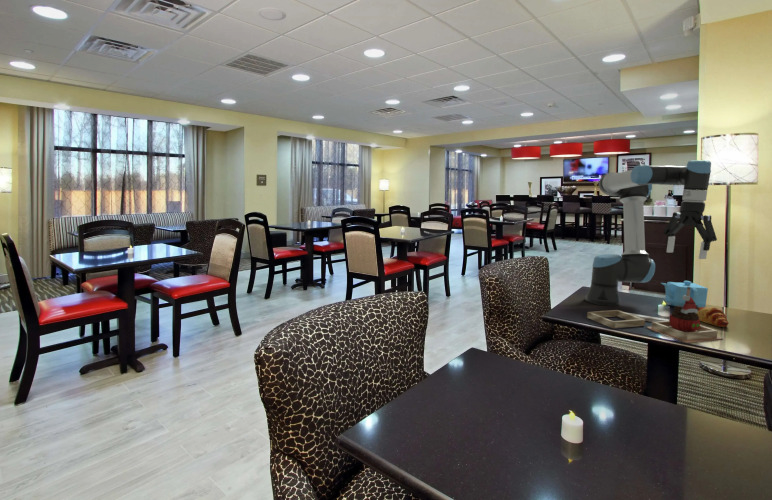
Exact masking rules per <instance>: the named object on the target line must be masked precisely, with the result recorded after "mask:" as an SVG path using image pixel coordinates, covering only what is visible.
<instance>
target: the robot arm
mask: <svg viewBox="0 0 772 500" xmlns="http://www.w3.org/2000/svg"><path fill="white" fill-rule="evenodd" d="M711 168H712V162H711V161H710V160H702V159H700V160H699V159H697V160H694V159H693V160H688V161H687V163H686V166H685V165H683V166H682V165H679V166H678V165H677V166H676V165H647V164H643V165H641V164H640V165H638V164H637V165H635V166H634V167H633V168H632V169H629V170H625V171H621V172H607V173H605V174H603V175H602V176H601V177H600V178H599V181H598V187H599V191H601V192H602V193H603V194H605V195H607V196H610V197H619V202H620V203H622V204H623V206H622V207H623V235H624V236H623V237H624V239H623V240H624V251H623V253H622V254H615V253H606V254H598V255H596V256H595V257H594V258H593V263H592V270H591V271H592V272H591V282H590V287H588V288H589V289H588V292H587V293H586V295H585V301H586V302H587V303H590V304H593V305H598V306H607V307H617V306H620V305H621V297H620V292H619V290H618V289H619V288H618V287H619V283H620V282H621V283H636V284H639V283H648V282H650V281H651V280H652V278H653V277H654V275H655V272H656V263H655V261H654V259H652V258H650V254H649V253H648V252H647V251H646V239H645V238H646V237H645V236H646V235H645V216H644V215H645V212H644V211H645V210H644V203H645V202H646V201H647V200H648V197H649V196H650V195H651V193H652V190H653V185H662V186H663V185H664V186H683V191H682V198H681V199H682V202H681V204H680V211H677V212H673V213H672V216H671V219H670V220H669V221H668V224H666V226H665V228H664V230H663V231H662V234H663V235H666V245H667V247H666V253H668V254H669V253H674V251H675V250H674V249H675V241H676V236H675V235H676V234H677V233H678V232H679V231H680V230H682V228H683V227H684V226H691V227H694V228H695V229H696V231H697V232H698V234H699V235H700V237H701V239H702V241H700V249H699V255H698V259H699V260H706V259H707V256H708V255H707V254H708V251H709V250H710V247H711V243H713V242H716V241H718V238H717V235H716V232H715V229H714V227H713V223H712V215H710V214H709V215H707V214H705V215H704V214H703V213H704V212H705V210H706V209H705V208H706V202H705V201H706V200H707V196H708V188H709V183H710V178H711V177H710V176H711V172H712V170H711Z"/></svg>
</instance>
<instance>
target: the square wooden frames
mask: <svg viewBox="0 0 772 500" xmlns="http://www.w3.org/2000/svg"><path fill="white" fill-rule="evenodd" d="M586 314H587V315H586V318H587V319H589V320H592V321H594V322H597V323H599V324H602V325H603V326H607V327H609V328H611V329H621V328H633V327H642V326H643V327H644V326H645V325H646V322H650V323H651V326H646V327H645V329H648V330H650V331H652V332H656V333H659V334H661V335H664V336H666V337H669V338H672V339H675V340H677V341H680V342H682V343H685V344H689V343H690V344H691V343H700V342H709V341H711V342H712V341H719V340H724V338H723V337H721V336H718V332H719V330H716V329H713V328H711V327H707V326H704V325H701V324H700V328H699V329H698V330H697V331H698V332H688V333H684V332H682V331H679V330H676V329H673V328H670V327H669V326H670V324H671V323H670V322H669V319H670V318H669V319H668V318H662V317H656V316H649V315H643V314H638V313H631V312H625V311H622V310H620V309H619V310H618V309H614V310H613V309H611V310H599V311H598V310H597V311H587V313H586ZM610 317H611V318H613V317H619V318H620V319H623V320H615V321H614V320H612V319H608V318H610Z"/></svg>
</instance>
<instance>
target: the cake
mask: <svg viewBox="0 0 772 500" xmlns="http://www.w3.org/2000/svg"><path fill="white" fill-rule="evenodd" d="M689 295H690V287H687V294H686V295H683V297H682V299H683V300H685V304H684V306H673V310H672V312H671V313H670V315H669V322H670V323H671V324H670V326H669V327H670V328H673V329H676V330H679V331H682V332H684V333H688V332H698V331H697V330H698V329H699V328H700V325H701V321H700V319H699V316H698V314H696V313H698V309H699V307H698V306H697V305H696V304H695V302H694V300H693V299H692V298H691V297H690V296H689ZM682 307H683V308H682Z"/></svg>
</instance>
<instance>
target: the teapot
mask: <svg viewBox="0 0 772 500" xmlns="http://www.w3.org/2000/svg"><path fill="white" fill-rule="evenodd" d="M660 284H661V285H663V286H664V290H665V299H664V301H665V302H666V303H669V305H670V307H675V306H684V304H685V300H683V299H682V297H683V295H686V294H687V287H690V295H689V296H690V297H691V298H692V299H693V300H694V302H695V304H696V305H697V306H698V307H706V304H707V297H708V291H709V288H707V287H706V286H703V285H701V284H697V283H694V282H692V281H689V280H684V281H683V282H676V281H675V282H674V281H667V283H665V282H660ZM682 308H683V307H682Z"/></svg>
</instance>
